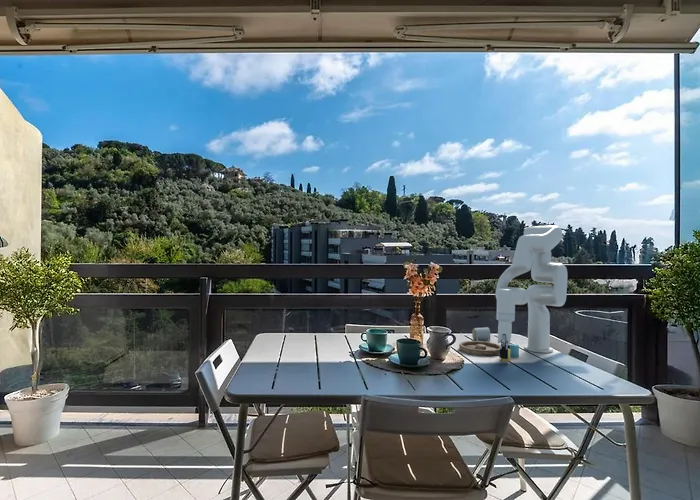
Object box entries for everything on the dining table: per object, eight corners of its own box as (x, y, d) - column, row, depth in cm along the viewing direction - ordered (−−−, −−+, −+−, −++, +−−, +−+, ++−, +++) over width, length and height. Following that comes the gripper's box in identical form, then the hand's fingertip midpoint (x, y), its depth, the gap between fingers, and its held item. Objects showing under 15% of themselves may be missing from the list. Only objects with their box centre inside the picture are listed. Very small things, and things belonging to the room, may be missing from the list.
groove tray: (463, 344, 210) (463, 339, 210) (504, 348, 202) (504, 343, 202) (456, 352, 193) (456, 347, 193) (500, 358, 184) (500, 352, 184)
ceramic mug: (471, 340, 221) (471, 325, 221) (487, 340, 220) (487, 326, 220) (475, 345, 210) (476, 330, 210) (492, 345, 210) (492, 330, 209)
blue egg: (509, 354, 191) (509, 343, 191) (519, 355, 189) (519, 344, 189) (509, 356, 187) (509, 345, 187) (518, 357, 185) (518, 346, 185)
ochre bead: (500, 358, 183) (500, 347, 183) (510, 360, 181) (510, 348, 181) (499, 361, 179) (500, 349, 179) (509, 362, 178) (509, 350, 178)
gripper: (498, 313, 190) (497, 351, 190) (494, 318, 174) (493, 359, 174) (515, 315, 186) (515, 353, 186) (513, 320, 171) (512, 361, 171)
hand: (504, 356), depth 180 cm, fingers open, 9 cm apart
